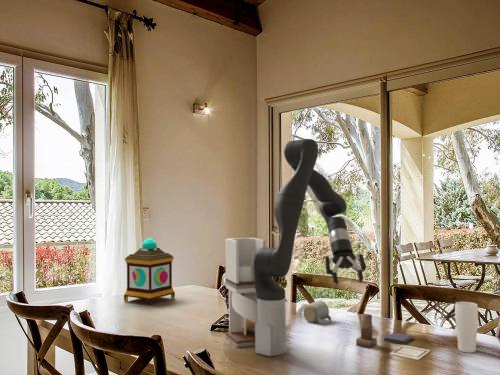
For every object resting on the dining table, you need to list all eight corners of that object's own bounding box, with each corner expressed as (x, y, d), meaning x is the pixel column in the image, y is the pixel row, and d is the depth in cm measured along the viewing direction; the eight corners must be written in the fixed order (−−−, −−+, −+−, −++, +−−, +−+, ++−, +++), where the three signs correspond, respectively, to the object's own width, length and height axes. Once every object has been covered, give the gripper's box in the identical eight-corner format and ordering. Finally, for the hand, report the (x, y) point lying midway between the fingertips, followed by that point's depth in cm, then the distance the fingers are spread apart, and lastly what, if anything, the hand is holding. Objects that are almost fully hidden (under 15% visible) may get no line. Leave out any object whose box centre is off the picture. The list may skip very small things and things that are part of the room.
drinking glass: (459, 346, 163) (458, 300, 163) (481, 350, 159) (480, 303, 159) (452, 351, 158) (452, 304, 158) (475, 355, 153) (474, 307, 154)
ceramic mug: (301, 321, 197) (301, 302, 197) (314, 317, 202) (314, 298, 202) (323, 326, 189) (323, 306, 189) (335, 322, 195) (335, 303, 195)
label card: (418, 360, 149) (418, 359, 150) (389, 354, 155) (389, 353, 155) (430, 351, 158) (430, 350, 158) (403, 345, 164) (403, 344, 164)
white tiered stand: (226, 338, 174) (225, 238, 175) (254, 335, 178) (253, 237, 178) (236, 347, 163) (235, 241, 164) (266, 343, 167) (265, 240, 168)
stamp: (370, 348, 161) (369, 317, 162) (356, 345, 165) (356, 315, 165) (376, 344, 165) (376, 314, 165) (363, 342, 168) (362, 312, 169)
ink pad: (403, 344, 165) (403, 341, 165) (383, 340, 170) (383, 337, 170) (413, 338, 172) (413, 335, 172) (394, 335, 177) (394, 332, 177)
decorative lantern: (179, 299, 241) (178, 237, 242) (150, 306, 225) (150, 240, 225) (148, 294, 252) (148, 236, 252) (119, 302, 235) (119, 239, 236)
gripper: (322, 239, 183) (330, 279, 173) (360, 236, 183) (370, 276, 174) (320, 249, 189) (328, 288, 179) (357, 246, 189) (367, 285, 180)
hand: (349, 282), depth 176 cm, fingers open, 8 cm apart
